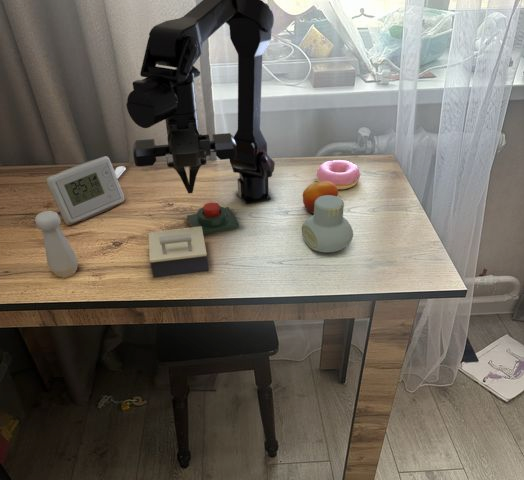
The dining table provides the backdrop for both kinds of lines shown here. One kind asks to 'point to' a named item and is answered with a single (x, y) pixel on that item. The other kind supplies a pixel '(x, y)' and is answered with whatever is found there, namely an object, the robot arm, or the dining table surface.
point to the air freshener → (327, 226)
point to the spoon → (119, 171)
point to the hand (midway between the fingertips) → (190, 192)
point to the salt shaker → (56, 245)
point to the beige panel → (176, 244)
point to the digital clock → (85, 190)
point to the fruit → (318, 193)
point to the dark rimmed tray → (179, 266)
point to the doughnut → (339, 173)
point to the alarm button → (211, 209)
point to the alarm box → (214, 221)
